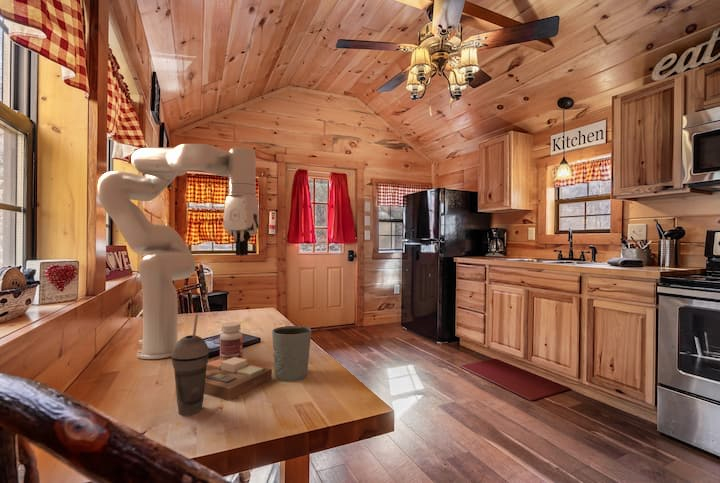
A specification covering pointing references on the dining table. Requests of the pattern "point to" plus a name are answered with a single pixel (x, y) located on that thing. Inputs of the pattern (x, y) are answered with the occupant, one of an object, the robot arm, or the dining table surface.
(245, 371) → the key sage
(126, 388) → the dining table surface
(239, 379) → the keypad board
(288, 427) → the dining table surface
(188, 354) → the beverage cup
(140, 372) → the dining table surface
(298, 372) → the grey green cup
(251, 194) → the robot arm
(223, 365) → the key cream
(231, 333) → the pill bottle
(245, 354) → the dining table surface
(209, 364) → the key terracotta
